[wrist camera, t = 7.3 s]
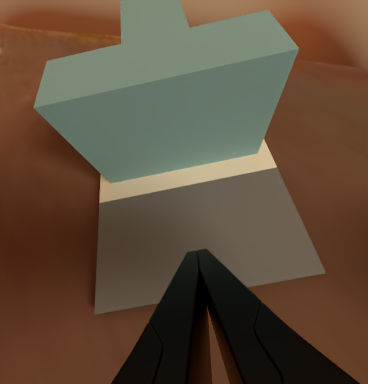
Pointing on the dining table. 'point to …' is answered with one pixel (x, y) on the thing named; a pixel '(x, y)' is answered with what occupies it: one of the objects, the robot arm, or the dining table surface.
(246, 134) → the t block
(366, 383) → the dining table surface
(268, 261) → the mat
